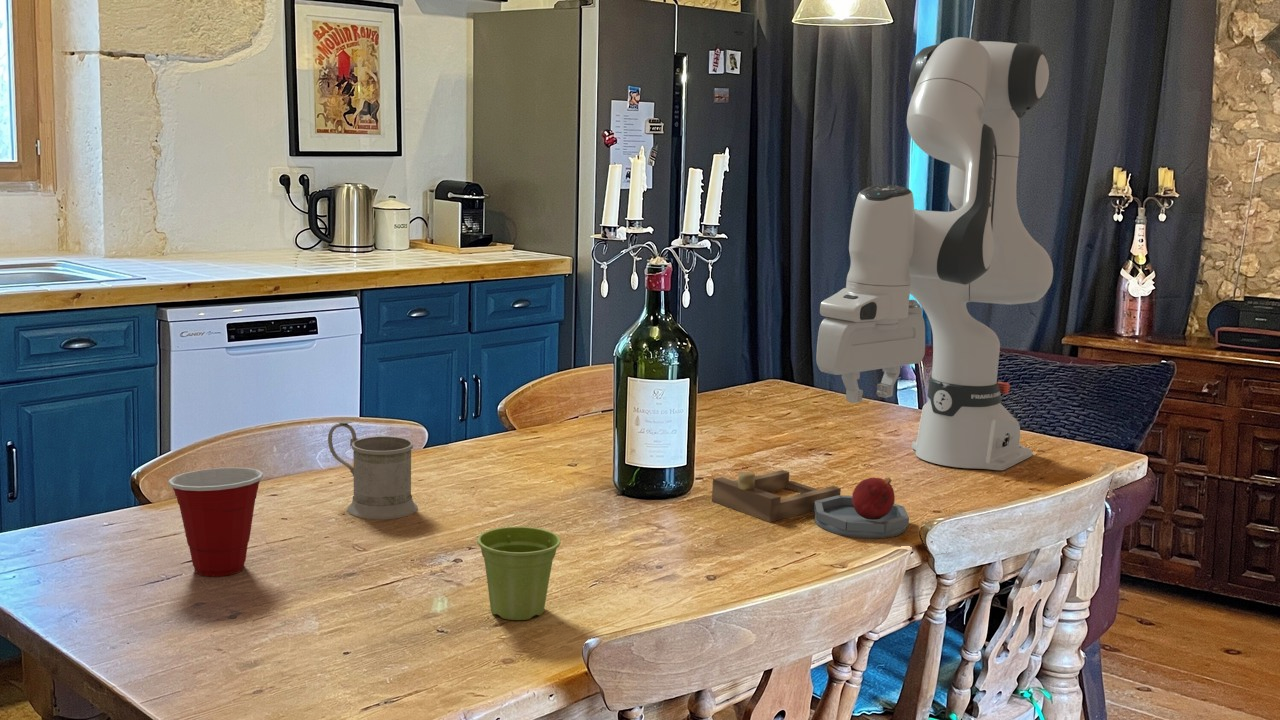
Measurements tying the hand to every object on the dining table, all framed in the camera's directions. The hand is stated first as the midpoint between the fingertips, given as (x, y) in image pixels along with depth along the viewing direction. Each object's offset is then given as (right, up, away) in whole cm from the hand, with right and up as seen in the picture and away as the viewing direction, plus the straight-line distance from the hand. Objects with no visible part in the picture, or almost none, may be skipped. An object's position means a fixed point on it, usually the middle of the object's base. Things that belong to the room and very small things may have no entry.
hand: (869, 399), depth 173 cm
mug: (-72, -16, +3) cm, 73 cm away
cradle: (-11, -16, +12) cm, 23 cm away
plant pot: (-47, -23, -33) cm, 62 cm away
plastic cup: (-84, -20, -24) cm, 90 cm away
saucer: (-1, -18, +3) cm, 19 cm away
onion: (-1, -17, +2) cm, 17 cm away
